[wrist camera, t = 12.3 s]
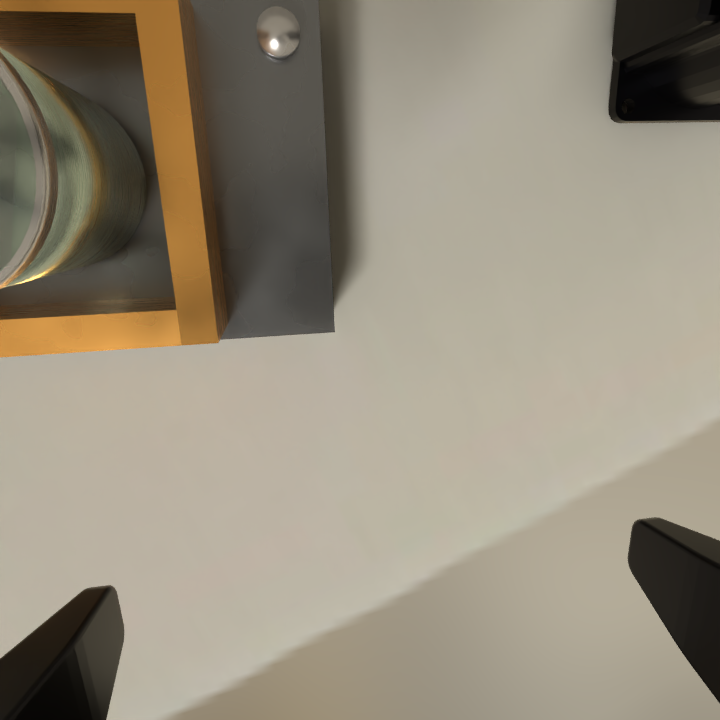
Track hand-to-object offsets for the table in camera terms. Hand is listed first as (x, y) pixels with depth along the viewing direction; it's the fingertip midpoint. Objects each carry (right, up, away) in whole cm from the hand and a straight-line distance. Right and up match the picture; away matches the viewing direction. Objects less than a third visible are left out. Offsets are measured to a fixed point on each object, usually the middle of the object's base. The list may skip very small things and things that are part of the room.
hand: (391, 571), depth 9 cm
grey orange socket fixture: (-10, +9, +8) cm, 16 cm away
